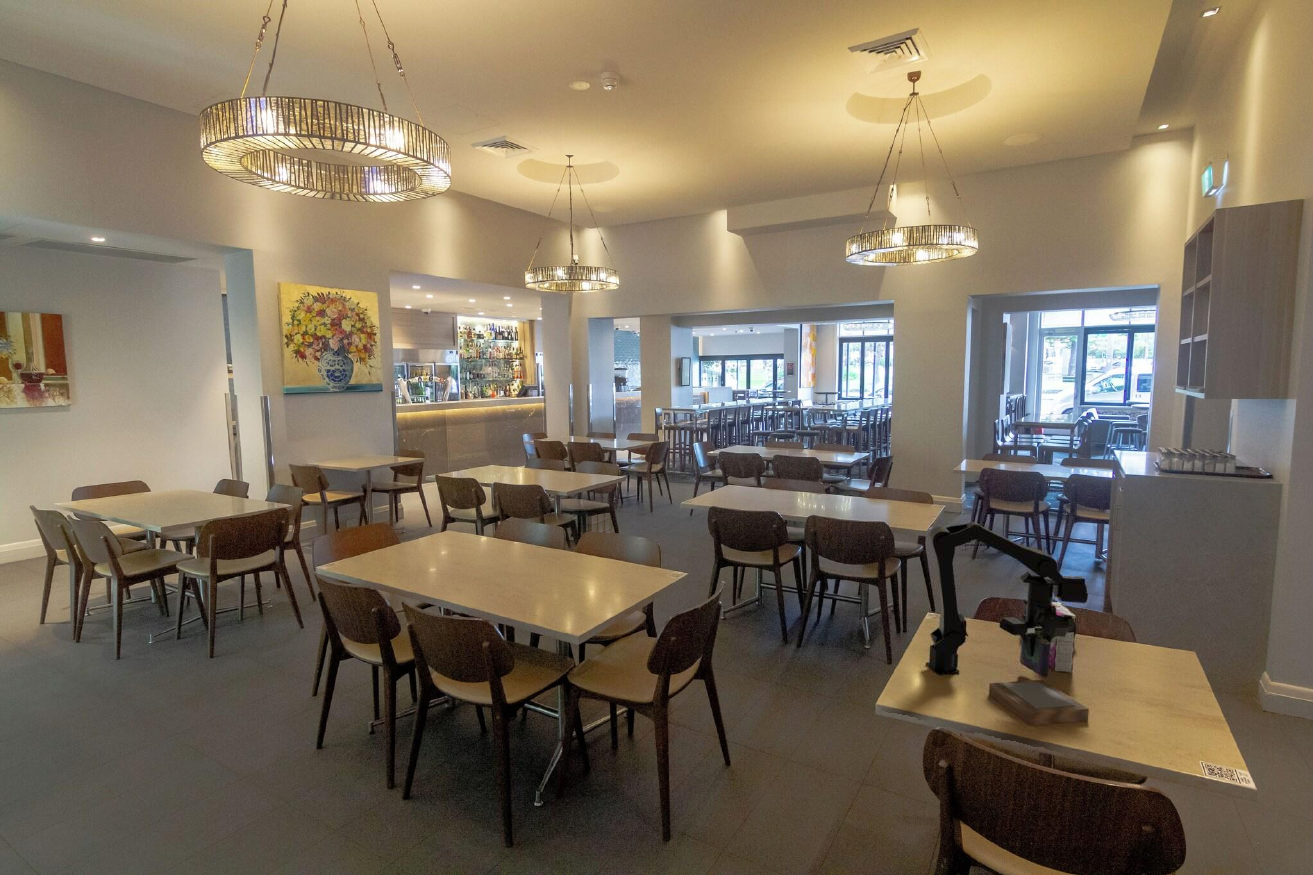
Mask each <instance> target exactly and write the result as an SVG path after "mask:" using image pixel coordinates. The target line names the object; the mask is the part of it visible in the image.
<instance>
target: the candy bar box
mask: <svg viewBox="0 0 1313 875" xmlns="http://www.w3.org/2000/svg"><path fill="white" fill-rule="evenodd" d="M1052 605H1054V606H1056V607H1055V608H1056V614H1057V615H1063V616H1071V617H1072V618H1073V619H1074V622H1075V623H1076V624H1077V615H1075V614H1074V613H1073V612H1070V611H1069V610H1068V609H1067V608H1068V607H1067V606H1065V604H1063V603H1062V602H1061V601H1058V602H1052ZM1066 607H1067V608H1066ZM1075 637H1076V635H1075V632H1072V633H1067V634H1066V636H1065V637H1062V636H1057V637H1055V638H1053V639H1052V640H1051V642H1050V644H1051V647H1050V658H1049V668H1051V669H1052V670H1053V672H1057V673H1071V674H1072V673H1073V669H1074V668H1073V665H1074V654H1075V653H1074V652H1075Z"/></svg>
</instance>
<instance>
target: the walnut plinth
mask: <svg viewBox="0 0 1313 875" xmlns="http://www.w3.org/2000/svg"><path fill="white" fill-rule="evenodd" d="M988 695H989V696H990V697H992V698H993V699H994V700H995V701H997V702H998V703H1000V704H1001V705H1003V706H1004V707H1005V708H1006V709H1008V710H1009V711H1010V712H1012V714H1015V715H1016V716H1017V717H1019V718H1020V719H1021V720H1023V721H1024V722H1025V723H1026V724H1028V725H1029V726H1039V725H1041V726H1043V725H1053V724H1054V725H1056V724H1069V723H1078V722H1088V721H1089V715H1090V714H1089V713H1090V712H1089V711H1090V708H1088V707H1087V706H1085V705H1084V704H1082V703H1081V702H1079V701H1077V700H1076V699H1074V698H1072V697H1071V696H1069V695H1067V694H1066V693H1065V692H1063V691H1061V689H1058V688H1057V687H1055V686H1054V685H1051V684H1050V683H1049V682H1047V681H1045V680H1044V679H1034V680H1033V679H1031V680H1016V681H1001V682H989V686H988Z"/></svg>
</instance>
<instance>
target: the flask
mask: <svg viewBox="0 0 1313 875" xmlns="http://www.w3.org/2000/svg"><path fill="white" fill-rule="evenodd" d="M1040 632H1042V631H1035V634H1037V635H1038V637H1037V638H1036V639H1035V641H1034V652H1033V656H1032V657H1031V656H1029V655H1028V653H1027V650H1026V648H1025V645H1024V643H1023V641H1022V640H1021V646H1020V655H1019V663H1020V664H1021V665H1022V666H1024V667H1026V668H1027V669H1029V670H1030V671H1032V672H1034V673H1035V674H1036V675H1038V676H1040V677H1042V678H1048V677H1049V669H1050V665H1049V658H1050V647H1051V644H1050V643H1049V642H1048V641H1047V640H1046V639H1043V638H1042V637H1043V636H1042V635H1040Z"/></svg>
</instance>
